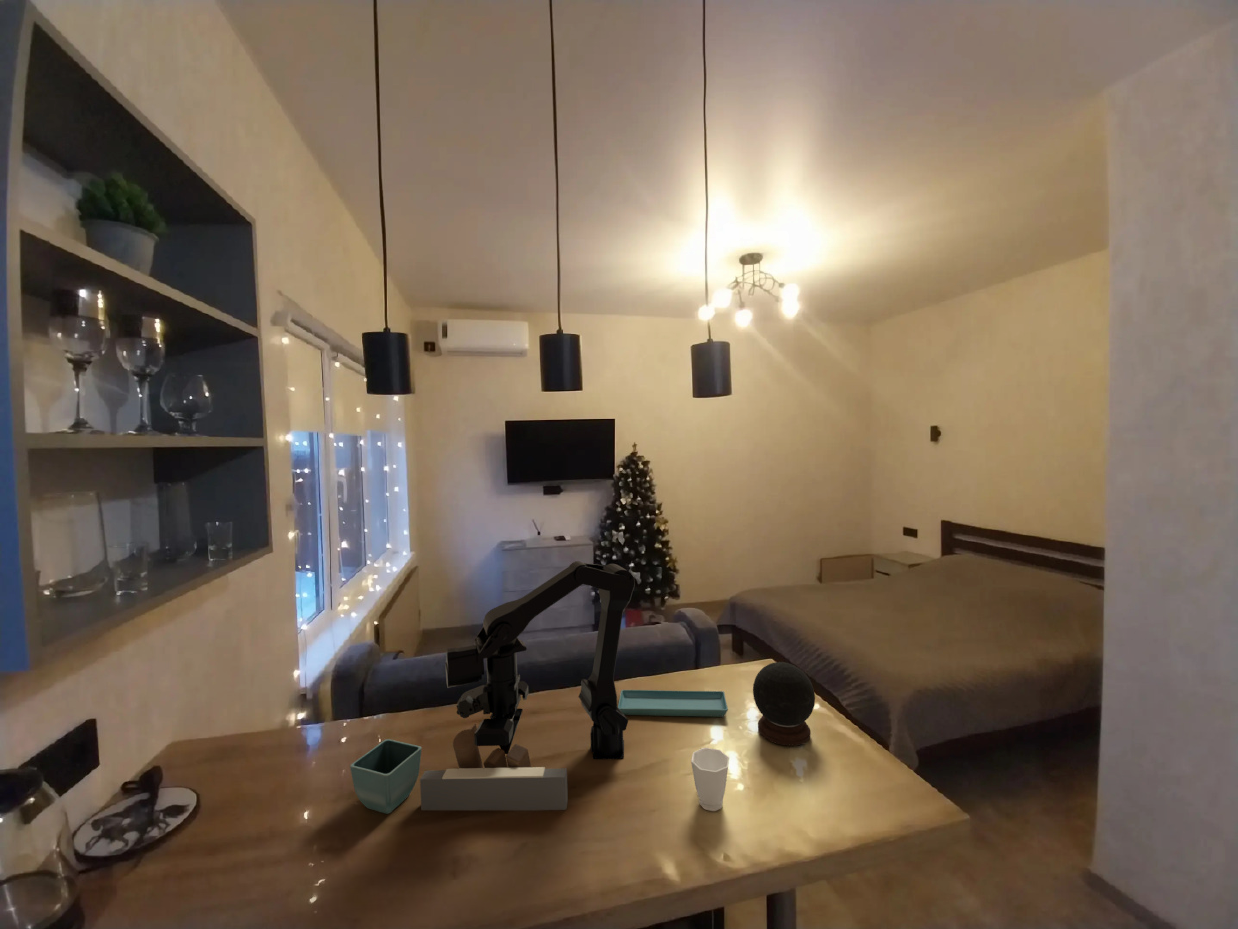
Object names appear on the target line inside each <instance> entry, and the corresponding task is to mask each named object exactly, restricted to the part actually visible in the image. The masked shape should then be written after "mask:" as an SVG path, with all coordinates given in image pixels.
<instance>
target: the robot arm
mask: <svg viewBox="0 0 1238 929" xmlns="http://www.w3.org/2000/svg"><path fill="white" fill-rule="evenodd" d="M583 585H586V586H590V587H592V588H597V589H598V593H599V594H598V595H599V600H600V605H601V606H600V607H601V608H600V615H599V623H598V630H597V636H596V642H595V643H596V644H595V652H594V657H593V658H594V660H593V666H592V672H591V673H590V676H589V677H588V678H587V679H585V678H582V679H581V682H580V686H581V687H580V692H579V694H578V698H579V699H580V704H581V706H582V708H583V709H584V710H585V712H586V714H587V715H588V717H589V718H590V720H591V721H592V722H593V724H592V726H590V733H589V734H590V736H589V738H590V752H591V753H592V759H593V760H597V761H598V760H624V759H625V739H624V731H626V730H627V726H628V723H629V719H628V718H627V717H626V715H624V714H623V713H622V712H621V711H620V709H619V708H618V696H617V695H618V694H617V691H616V690H617V689H616V683H615V670H616V662H617V657H618V649H619V643H620V634H621V628H622V620H623V613H624V611H625V609H626V608H627V606H628V604H629V603H630V601H631V599H632V595H633V592H634V589H635V586H636V580H635V576H634V575H633V574H632V573H631V571H629V570H627V569H625V568H624V567H622V566H620V565H618V564H615V563H609V564H606V565H602V564H597V563H587V562H582V561H579V560H577V561H576V560H575V561H573V562H572V563H571V564H569V566H567V567H566V568H565V569H564V570H562V571H561V572H558V573H557V574H556V575H554V576H552V577H551V578H550V579H547V581H545V582H544V583H542V584H540V585H539V586H538V587H535V588H534V589H533V590H532V591H530V592H529V593H527V594H525V595H524V596H522V597H520V598H518V599H515V600H511V601H507V602H505V603H502V604H500V605H498V606H496V607H493V608H492V609H490V610H489V611H487V612H486V614H485V615H484V618H483V622H482V625H483V626H482V627H481V629H480V630H479V632H478V633H477V635H476V636H475V638H474V639H473V645H468V646H461V647H452V648H447V649H446V653H445V654H446V656H445V657H446V658H445V666H444V667H445V679H446V680H445V681H446V687H447V689H450V688H453V687H458V686H459V687H460V686H463V685H468V684H472V683H473V684H474V683H478V682H479V681H480V680H482V679H483V678H482V677H483V676H484V675H485V661H484V660H485V659H486V680H487V681H486V684H482V685H479V686H477V687H475V688H472V689H469V690H467V691H465V692H463V693H462V695H461V696H460V697H459V699H458V701H457V702H456V703H457V705H456V715H459V716H460V717H461V718H462V719H468V718H469V717H470V716H473V715H475V714H477V713H479V712H482V714H483V715H490V714H491V715H490V716H489V718H483V720H481V722H480V723H479V725H478V727H477V730H476V732H475V734H474V737H475V745H476V746H478V747H498V746H499V748H500V749H502V750H504V752H505V755H507V754H508V753H509V751H510V750H511V748H512V744H513V740H514V738H515V735H516V731H517V728H518V726H519V723H520V720H521V717H522V713H523V708H519V704H520V702H521V701H522V700H523V701H527V698H528V696H529V684H527V682H526V681H524V680H521V675H520V673H518V665H517V664H518V661H517V660H518V659H517V653H521V652H525V651H527V650H528V648H527V646H526V645H525V642H524V641H523V640H521V639H519V638H518V637H519V636H520V635H521V634H522V633H523V632H524V631H525V630H526V629H527V627H528V625H529V624H530V623H531V621H533V619H535V618H536V617H537V616H538V615H541V613H543V612H544V611H546V610H547V609H549V608H551V606H553V605H555V604H556V603H557V602H559V601H561V600H562V599H563V598H565V597H566V596H568V595H569V594H571V593H572V592H574V591H575V590H577V589H578V588H579V587H581V586H583ZM521 697H522V698H521ZM521 699H522V700H521Z"/></svg>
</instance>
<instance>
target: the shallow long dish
mask: <svg viewBox="0 0 1238 929" xmlns="http://www.w3.org/2000/svg"><path fill="white" fill-rule="evenodd" d="M617 707H618V708H619V709H620V711H621V712H622V713H623V714H624V716H626V715H629V716H657V717H658V716H661V717H663V716H664V717H665V716H667V717H725V715H726V714H727V712H728V711H729V707H728V704H727V699H726V693H725V691H723V690H715V691H714V690H664V689H660V690H658V689H655V690H654V689H622V690H620V695H619V700H618V703H617Z"/></svg>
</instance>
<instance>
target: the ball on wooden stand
mask: <svg viewBox="0 0 1238 929" xmlns="http://www.w3.org/2000/svg"><path fill="white" fill-rule="evenodd" d="M752 686H753V688H752V694H753V700H754V702H755V703H754V704H755V705H756V707H757V709H758V711H759V713H761V715H762V716H761V718H759V720H758V721H757V728H758V733H759V734H760V735H761V736H762V737H763V738H764V739H766V740H768V741H770V742H772V743H775V744H777V745H781V746H789V747H790V746H792V747H794V746H799V745H804V744H805V743H807V742H808V741H809V740H810V738H811V735H812V734H811V731H812V730H811V728H810V726H809V725H808V724H807V722H806V721H807V720H808V719H809V718H810V716H811V714H812V713H813V712H814V708H815V703H816V702H815V701H816V694H815V690H814V685H813V683H812V682H811V680H810V678H809V677H808V675H807V674H806V673H805V672H804V671H803V670H802V669H800V668H799V667H797V666H796V665H794V664H792V663H789V662H784V661H775V662H771V663H769V664H767V665H765V666H764V667H762V668H761V669H760V670H759V671H758V673H757V675H756V676H755V678H754V682H753V685H752Z"/></svg>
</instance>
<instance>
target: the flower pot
mask: <svg viewBox="0 0 1238 929" xmlns="http://www.w3.org/2000/svg"><path fill="white" fill-rule="evenodd" d="M422 749H423V747H422V746H420V745H416V744H412V743H408V742H403V741H398V740H394V739H392V738H391V739H390V738H386V739H384V740H383V741H381V742H380V743H379V744H377V745H375V747H373V748H372V749H370V750H369V751H368V752H367V753H365V754H363V755H362V756H360V757H359V758H358V759H356V760H355V761H354V762H352V763H351V764H350V765H349V768H350V774H351V778H352V779H351V780H352V784H353V788H354V792H355V794H356V796H357V799H358V800H359V801H360V802H361V803H362V804H363V805H364V807H366V808H367V809H369V810H373V811H375V812H379V813H382V814H386V815H387V814H391V813H392V812H393V811H394V810H395V809H396V808H397V807H399V805H400V804H402V803H403V802H404V801H405V800H406V799H407V798H408V797H409V796H410V794H411V793H412V791H413V789H414V787H415V785H416V783H417V780H418V778H419V773H420V767H421V757H422Z"/></svg>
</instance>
